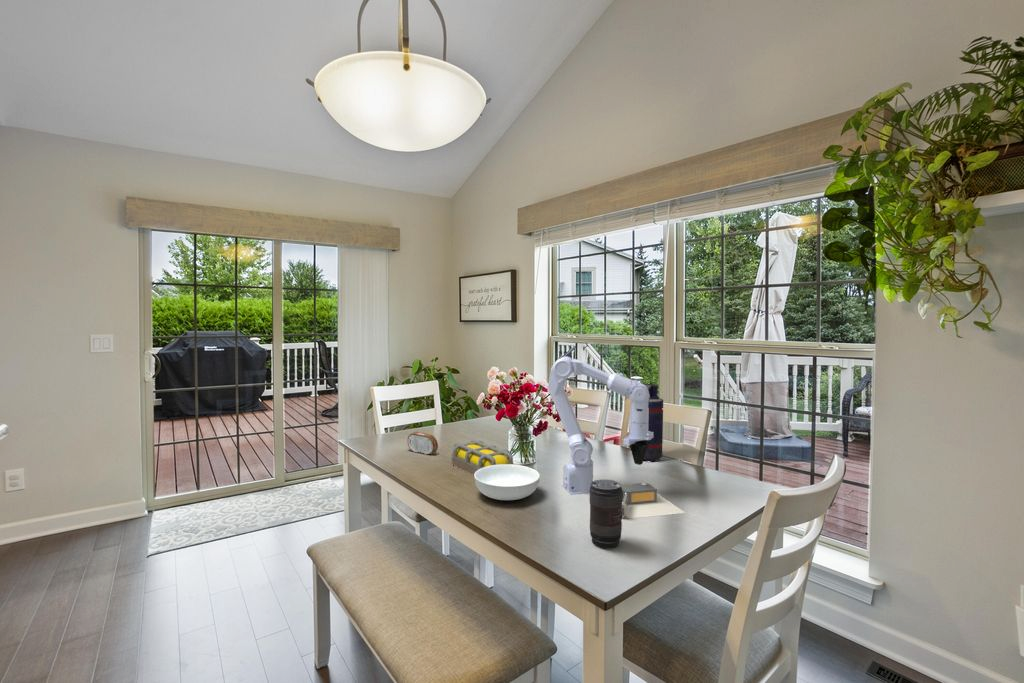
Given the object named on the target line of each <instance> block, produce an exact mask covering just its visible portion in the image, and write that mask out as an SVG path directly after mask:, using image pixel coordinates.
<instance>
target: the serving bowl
mask: <svg viewBox="0 0 1024 683" xmlns="http://www.w3.org/2000/svg"><path fill="white" fill-rule="evenodd" d="M473 477H474V483H475V485H476V487H477V489H478V490H479V492H480V493H481V494H483V495H484V496H486V497H488V498H490V499H494V500H499V501H515V500H521V499H524V498H527V497H529V496H531V495H532V494H533V493H535V491H536V489H537V488H538V486H539V484H540V477H541V475H540V473H539V472H538V471H537V470H536V469H533V468H531V467H530V466H526V465H521V464H514V465H513V464H500V465H491V466H487V467H483V468H481V469H479V470H477V471H476V472H475V474H474V476H473Z"/></svg>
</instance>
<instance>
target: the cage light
mask: <svg viewBox="0 0 1024 683" xmlns="http://www.w3.org/2000/svg"><path fill="white" fill-rule="evenodd" d="M513 458H514V457H513V455H512V453H511V451H510V450H508V449H507V450H502V449H500V448H498V447H497V446H496V445H494V444H492V445H489V444H486V443H485V442H484V441H483V440H476V439H472V440H470V442H466V443H459V442H456V443H455V444H454V445H453V449H452V454H451V465H452V464H453V465H455V466H457V467H458V468H457V469H459V468H461V469H462V470H461V469H460V470H461V471H463V470H465V471H467V472H469V473H471V474H473V475H474V474H475V472H476V471H477V470H479V469H481V468H483V467H487V466H491V465H500V464H513V465H515V464H514V459H513ZM453 465H452V466H453ZM465 471H464V472H465ZM467 472H466V473H467ZM469 473H468V474H469ZM471 474H470V475H471ZM473 475H472V476H473Z"/></svg>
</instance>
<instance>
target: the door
mask: <svg viewBox="0 0 1024 683" xmlns="http://www.w3.org/2000/svg"><path fill="white" fill-rule="evenodd" d="M627 506H628V493H625V497H624V500H623V503H622V508H621V513H622V519H625V517H626V516H625V512H626V509H627Z"/></svg>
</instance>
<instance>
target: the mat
mask: <svg viewBox="0 0 1024 683" xmlns="http://www.w3.org/2000/svg"><path fill="white" fill-rule="evenodd" d="M677 514H680V515H681V514H686V512H685V511H684V510H682V509H681V508H680V507H678V506H676V505H675V504H673V503H672V502H671V501H669V500H668V499H666V498H664V497H663V496H661V494H659V493H657V502H654V503H644V504H633V505H628V506H627V509H626V512H625V516H624V517H626V519H639V518H641V519H642V518H648V517H649V518H650V517H651V518H652V517H659V516H668V515H677Z"/></svg>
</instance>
